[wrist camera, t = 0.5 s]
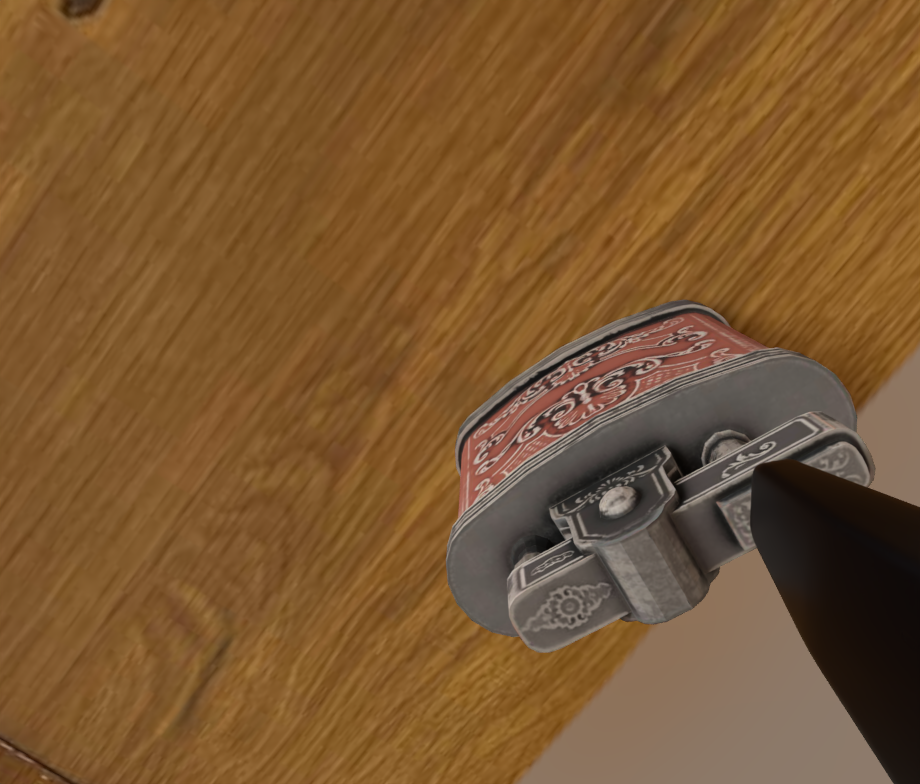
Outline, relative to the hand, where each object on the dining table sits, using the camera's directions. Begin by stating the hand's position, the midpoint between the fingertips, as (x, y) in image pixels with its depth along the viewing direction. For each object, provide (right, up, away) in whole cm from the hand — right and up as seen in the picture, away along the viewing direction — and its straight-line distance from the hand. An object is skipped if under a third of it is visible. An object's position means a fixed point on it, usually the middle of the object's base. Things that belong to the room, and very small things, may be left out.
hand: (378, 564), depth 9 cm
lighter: (+4, +2, +13) cm, 14 cm away
